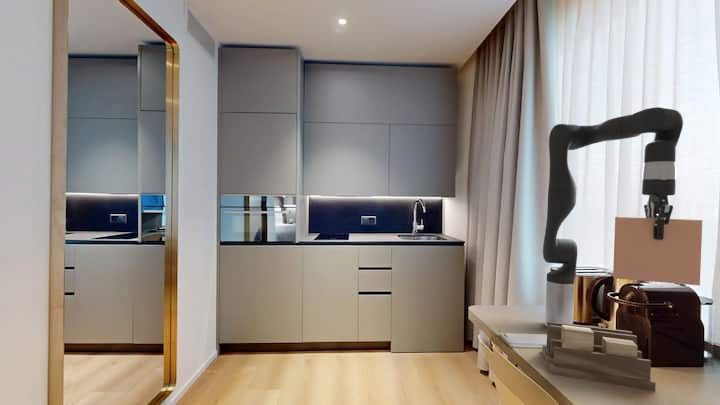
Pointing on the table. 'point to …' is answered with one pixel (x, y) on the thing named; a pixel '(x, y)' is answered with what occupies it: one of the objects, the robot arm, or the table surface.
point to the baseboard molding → (524, 340)
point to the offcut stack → (585, 340)
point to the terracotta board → (657, 251)
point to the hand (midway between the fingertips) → (656, 238)
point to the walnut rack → (597, 359)
